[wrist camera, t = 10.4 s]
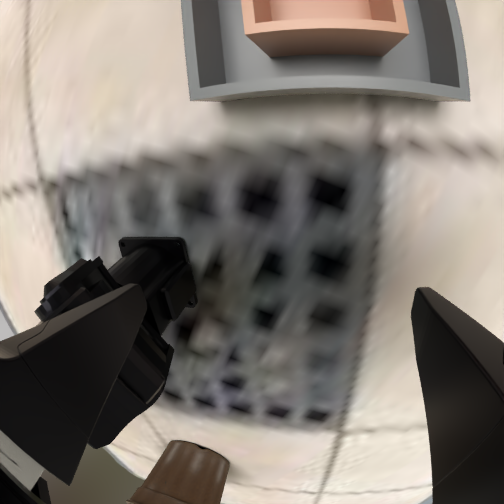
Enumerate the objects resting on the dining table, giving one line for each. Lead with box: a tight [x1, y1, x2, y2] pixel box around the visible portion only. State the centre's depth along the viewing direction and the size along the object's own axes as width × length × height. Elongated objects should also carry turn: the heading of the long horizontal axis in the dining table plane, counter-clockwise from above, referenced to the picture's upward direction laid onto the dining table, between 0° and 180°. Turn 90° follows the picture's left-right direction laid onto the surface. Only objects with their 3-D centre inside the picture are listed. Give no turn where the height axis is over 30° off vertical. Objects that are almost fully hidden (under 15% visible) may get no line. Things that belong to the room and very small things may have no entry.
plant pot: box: [126, 441, 229, 504], centre depth 38 cm, size 16×16×16 cm
